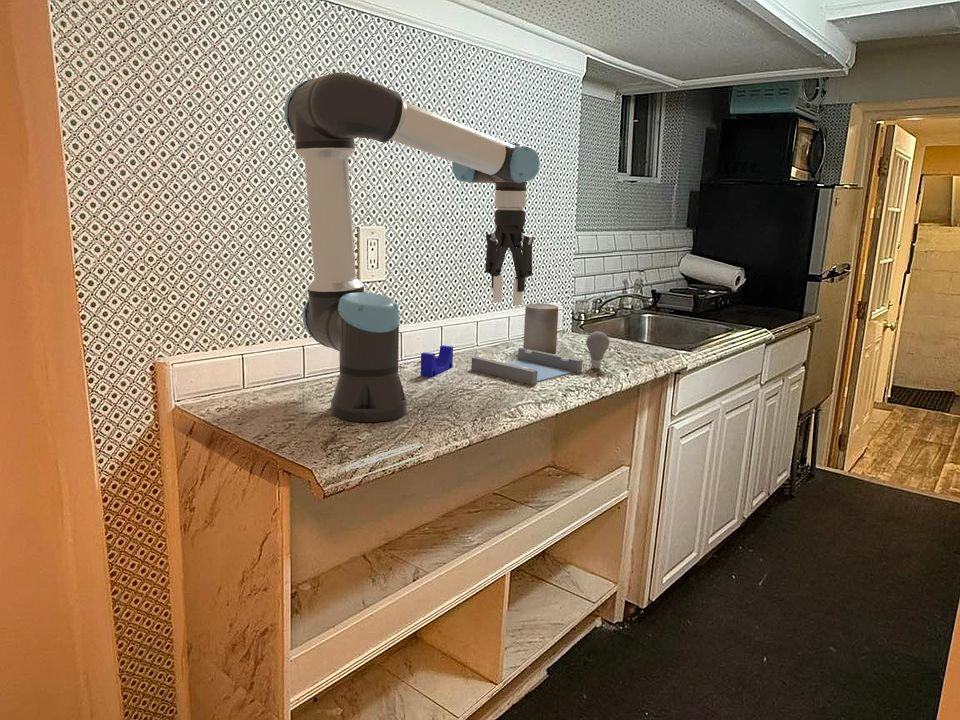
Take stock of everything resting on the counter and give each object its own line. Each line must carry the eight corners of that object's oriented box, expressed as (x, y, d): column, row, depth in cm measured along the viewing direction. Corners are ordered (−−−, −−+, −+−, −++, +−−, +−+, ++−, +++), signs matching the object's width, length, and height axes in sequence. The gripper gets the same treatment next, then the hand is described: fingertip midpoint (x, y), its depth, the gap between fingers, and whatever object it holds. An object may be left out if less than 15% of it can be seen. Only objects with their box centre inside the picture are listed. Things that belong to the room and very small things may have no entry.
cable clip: (436, 367, 178) (437, 344, 177) (452, 369, 177) (453, 346, 175) (415, 376, 168) (415, 352, 166) (431, 378, 166) (432, 354, 165)
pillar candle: (551, 348, 206) (553, 299, 203) (559, 355, 197) (562, 303, 194) (519, 348, 205) (522, 298, 202) (526, 355, 196) (529, 303, 192)
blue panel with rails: (532, 384, 163) (532, 371, 162) (471, 369, 176) (471, 357, 175) (581, 372, 177) (582, 360, 177) (522, 358, 191) (522, 347, 190)
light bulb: (589, 371, 179) (591, 333, 177) (581, 365, 185) (583, 329, 182) (610, 370, 180) (613, 333, 178) (602, 365, 186) (605, 329, 184)
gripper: (550, 210, 163) (546, 306, 169) (491, 208, 176) (488, 297, 181) (531, 210, 158) (527, 309, 163) (471, 208, 170) (469, 300, 175)
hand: (507, 303), depth 172 cm, fingers open, 6 cm apart
